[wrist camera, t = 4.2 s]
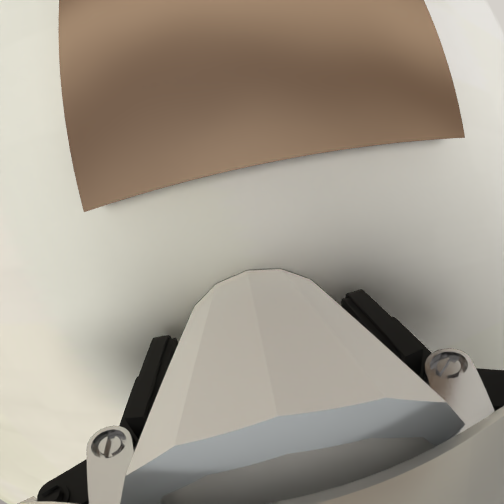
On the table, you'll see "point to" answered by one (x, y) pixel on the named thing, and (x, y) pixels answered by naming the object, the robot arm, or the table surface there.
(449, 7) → the table surface
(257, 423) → the white short cylinder
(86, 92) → the walnut board
